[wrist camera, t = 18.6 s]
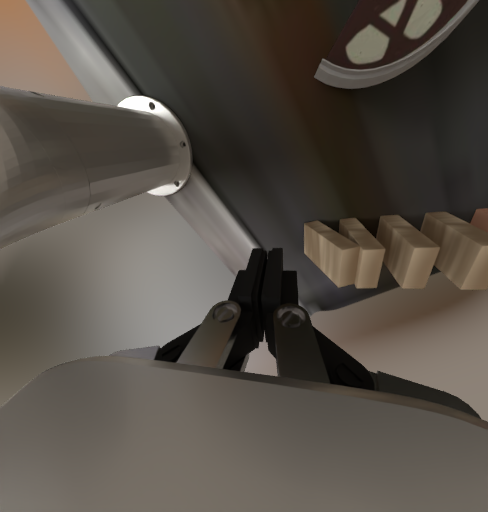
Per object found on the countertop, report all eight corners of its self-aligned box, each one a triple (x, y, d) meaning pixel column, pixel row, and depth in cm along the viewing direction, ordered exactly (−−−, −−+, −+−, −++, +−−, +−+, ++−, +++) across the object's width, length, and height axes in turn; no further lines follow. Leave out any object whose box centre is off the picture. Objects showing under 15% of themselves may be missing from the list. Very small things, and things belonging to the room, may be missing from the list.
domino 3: (374, 248, 28) (401, 288, 21) (380, 215, 26) (414, 248, 18) (389, 248, 28) (424, 288, 20) (397, 214, 25) (440, 247, 18)
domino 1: (304, 253, 30) (338, 287, 23) (304, 223, 28) (342, 250, 20) (316, 250, 31) (354, 283, 23) (317, 220, 28) (360, 246, 20)
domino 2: (337, 250, 30) (356, 288, 22) (339, 219, 27) (363, 250, 20) (351, 249, 29) (376, 287, 22) (355, 217, 27) (385, 248, 19)
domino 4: (414, 247, 27) (460, 289, 20) (425, 212, 25) (482, 245, 17) (432, 246, 26) (486, 290, 19) (445, 211, 24) (512, 245, 17)
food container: (352, 128, 22) (387, 123, 14) (308, 95, 21) (316, 69, 13) (477, -37, 15) (700, -250, 7) (417, -92, 14) (581, -399, 6)
